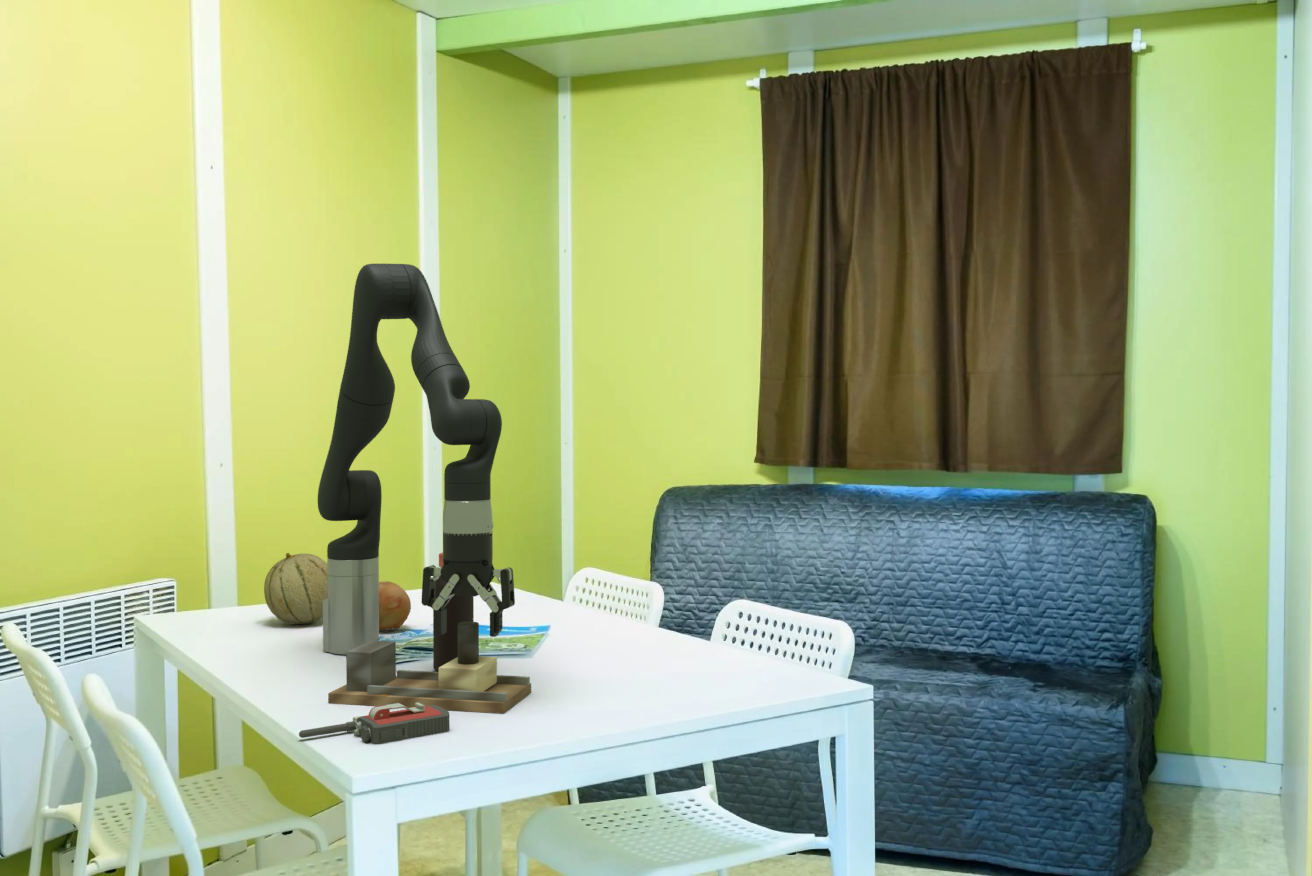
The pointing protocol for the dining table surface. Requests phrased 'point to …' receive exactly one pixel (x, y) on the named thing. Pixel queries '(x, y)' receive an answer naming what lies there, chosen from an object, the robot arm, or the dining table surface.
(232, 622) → the dining table surface
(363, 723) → the walkie-talkie
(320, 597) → the cantaloupe
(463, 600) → the bottle
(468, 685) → the block
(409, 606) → the onion
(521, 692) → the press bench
